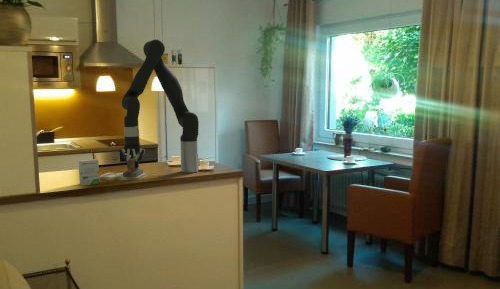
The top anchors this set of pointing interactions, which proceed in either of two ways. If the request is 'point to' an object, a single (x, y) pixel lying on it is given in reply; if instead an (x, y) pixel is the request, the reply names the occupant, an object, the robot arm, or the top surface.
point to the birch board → (120, 176)
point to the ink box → (89, 172)
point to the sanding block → (132, 169)
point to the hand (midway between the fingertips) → (133, 168)
